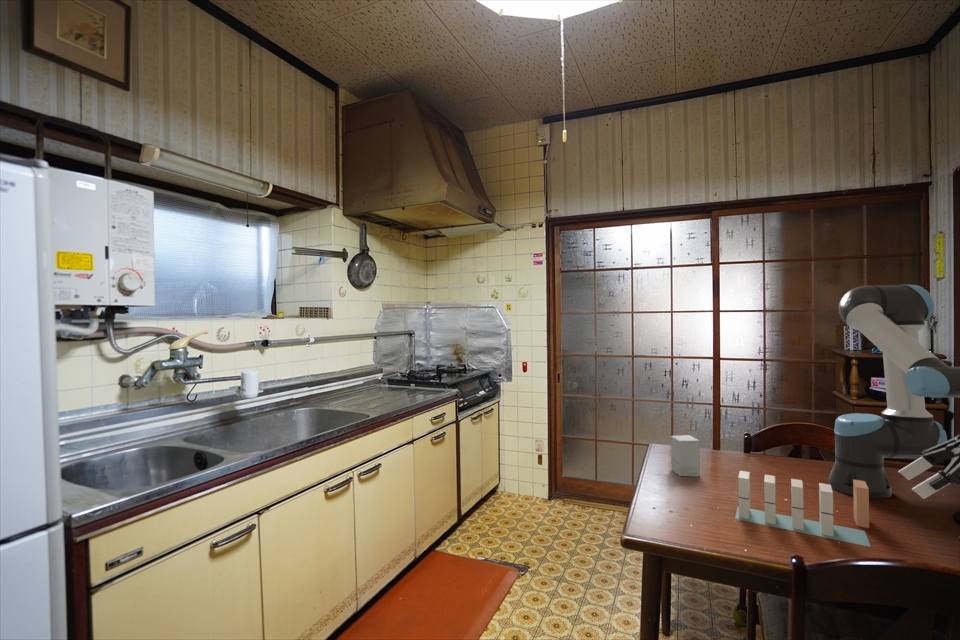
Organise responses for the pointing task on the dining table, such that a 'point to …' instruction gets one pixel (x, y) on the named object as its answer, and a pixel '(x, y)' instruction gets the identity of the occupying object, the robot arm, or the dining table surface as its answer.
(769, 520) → the domino
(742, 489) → the domino
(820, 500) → the domino
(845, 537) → the domino board
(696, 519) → the dining table surface
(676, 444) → the supplement box
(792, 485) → the domino
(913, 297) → the robot arm
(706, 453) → the dining table surface
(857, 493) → the terracotta domino
